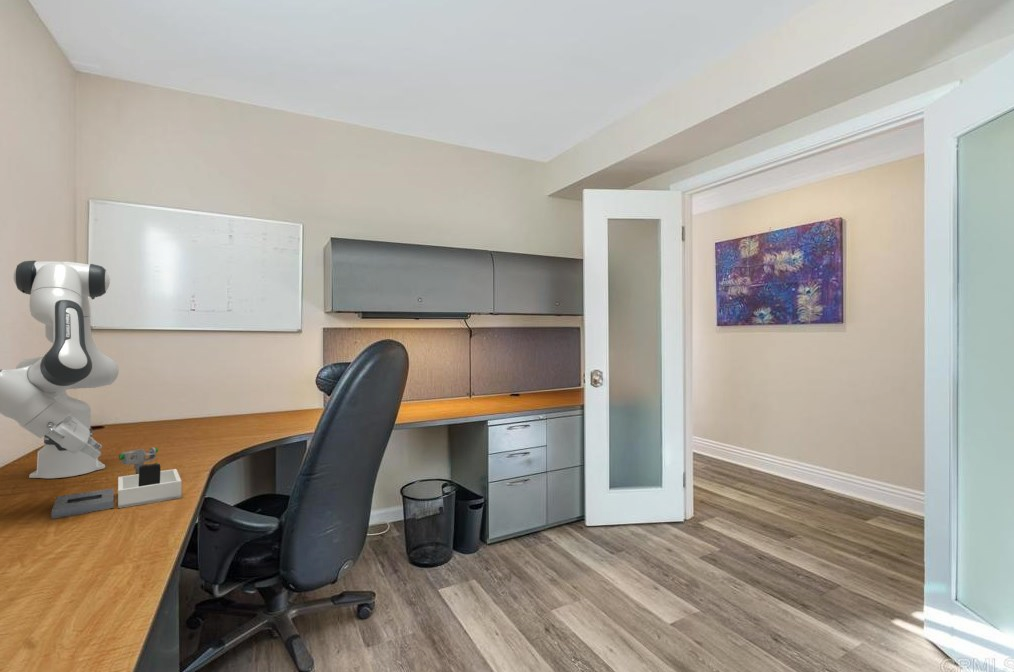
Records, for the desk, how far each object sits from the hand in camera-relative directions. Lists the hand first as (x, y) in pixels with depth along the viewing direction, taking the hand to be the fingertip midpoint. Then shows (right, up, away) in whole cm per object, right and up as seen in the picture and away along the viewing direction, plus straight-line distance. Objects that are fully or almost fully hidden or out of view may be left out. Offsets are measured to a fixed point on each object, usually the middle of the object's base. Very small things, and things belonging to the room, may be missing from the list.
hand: (99, 452), depth 133 cm
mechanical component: (-4, -14, +20) cm, 25 cm away
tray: (+9, -14, +7) cm, 18 cm away
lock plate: (-2, -14, -2) cm, 14 cm away
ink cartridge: (+8, -13, +7) cm, 17 cm away
